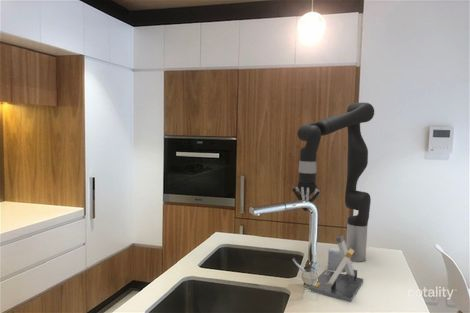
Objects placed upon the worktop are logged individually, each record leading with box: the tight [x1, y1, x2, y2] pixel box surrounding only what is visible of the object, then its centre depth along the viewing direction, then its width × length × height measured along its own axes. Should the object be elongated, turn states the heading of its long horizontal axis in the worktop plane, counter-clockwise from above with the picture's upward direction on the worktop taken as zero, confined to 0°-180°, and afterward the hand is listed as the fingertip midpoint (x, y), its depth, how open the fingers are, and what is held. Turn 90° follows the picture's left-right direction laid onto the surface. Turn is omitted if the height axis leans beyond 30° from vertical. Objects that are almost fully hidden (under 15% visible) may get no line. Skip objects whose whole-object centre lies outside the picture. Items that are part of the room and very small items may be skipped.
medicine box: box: [327, 247, 346, 272], centre depth 160 cm, size 8×4×9 cm, turn 74°
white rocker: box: [328, 248, 354, 286], centre depth 135 cm, size 5×2×18 cm, turn 148°
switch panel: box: [308, 268, 364, 303], centre depth 143 cm, size 20×16×4 cm
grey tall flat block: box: [335, 234, 356, 277], centre depth 147 cm, size 5×2×18 cm, turn 148°
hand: (305, 210), depth 156 cm, fingers closed
